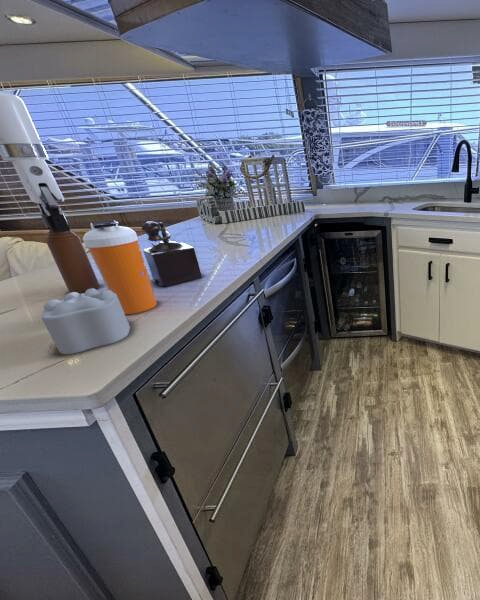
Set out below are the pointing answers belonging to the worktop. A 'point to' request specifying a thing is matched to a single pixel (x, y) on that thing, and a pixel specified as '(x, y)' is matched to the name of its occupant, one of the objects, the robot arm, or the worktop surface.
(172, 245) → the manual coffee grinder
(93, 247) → the shaker bottle
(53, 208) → the robot arm
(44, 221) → the cap
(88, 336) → the lumpy-topped squat cylinder
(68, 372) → the worktop surface
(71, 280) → the bottle
